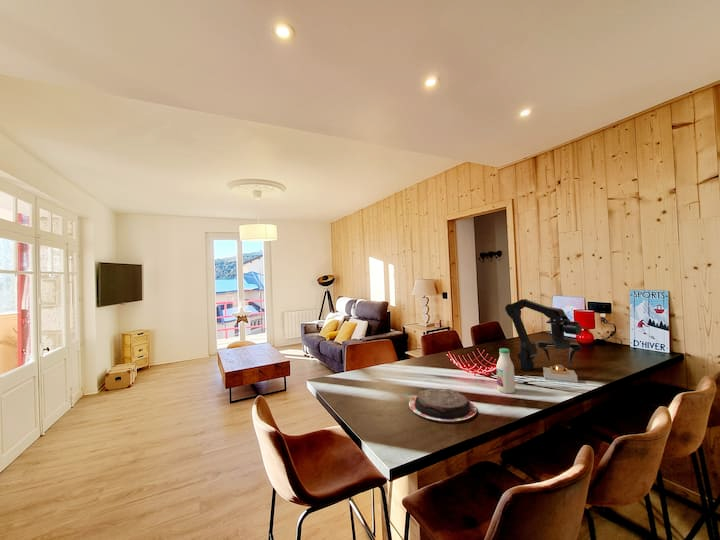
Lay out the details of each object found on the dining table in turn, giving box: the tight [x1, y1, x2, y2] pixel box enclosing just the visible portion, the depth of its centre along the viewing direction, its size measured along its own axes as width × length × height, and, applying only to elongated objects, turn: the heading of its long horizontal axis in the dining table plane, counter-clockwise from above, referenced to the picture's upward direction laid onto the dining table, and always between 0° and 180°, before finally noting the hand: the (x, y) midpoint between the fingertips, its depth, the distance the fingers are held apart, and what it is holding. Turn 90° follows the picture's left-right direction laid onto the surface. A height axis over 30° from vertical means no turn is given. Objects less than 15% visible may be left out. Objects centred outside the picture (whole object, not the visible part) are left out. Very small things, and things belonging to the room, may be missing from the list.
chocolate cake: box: [408, 388, 477, 424], centre depth 123 cm, size 28×28×7 cm
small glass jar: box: [553, 364, 565, 371], centre depth 154 cm, size 4×4×6 cm
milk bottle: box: [496, 347, 516, 394], centre depth 140 cm, size 8×8×20 cm
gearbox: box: [542, 366, 579, 384], centre depth 154 cm, size 14×10×5 cm
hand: (559, 361), depth 154 cm, fingers open, 9 cm apart
